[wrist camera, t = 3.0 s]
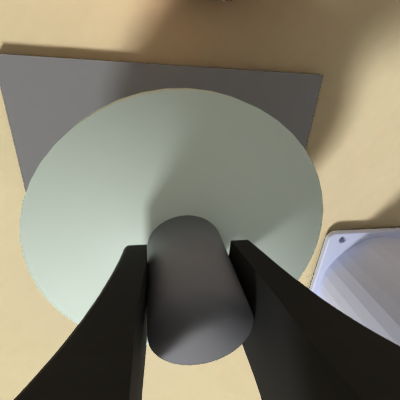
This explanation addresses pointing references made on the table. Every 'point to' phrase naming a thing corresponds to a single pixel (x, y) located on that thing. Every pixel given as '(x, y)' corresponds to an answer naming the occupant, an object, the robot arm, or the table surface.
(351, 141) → the table surface
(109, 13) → the table surface
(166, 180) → the lid
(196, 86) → the mat
